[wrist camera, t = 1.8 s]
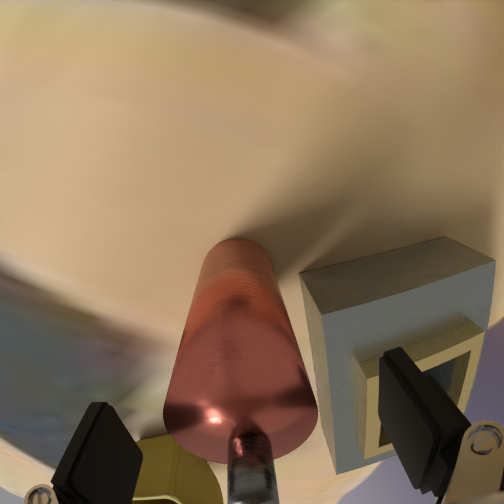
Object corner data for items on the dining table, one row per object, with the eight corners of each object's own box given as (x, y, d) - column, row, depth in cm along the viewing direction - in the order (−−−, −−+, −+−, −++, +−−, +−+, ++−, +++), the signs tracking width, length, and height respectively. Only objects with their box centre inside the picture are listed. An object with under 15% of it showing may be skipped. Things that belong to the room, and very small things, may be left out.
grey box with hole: (298, 273, 21) (329, 330, 14) (445, 236, 21) (510, 267, 13) (321, 426, 25) (340, 488, 18) (432, 387, 25) (467, 435, 18)
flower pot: (111, 429, 25) (87, 499, 16) (183, 412, 24) (170, 496, 16) (161, 475, 27) (151, 538, 19) (229, 462, 27) (230, 534, 18)
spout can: (194, 247, 20) (114, 443, 5) (264, 231, 20) (334, 416, 5) (212, 310, 21) (188, 524, 7) (277, 295, 21) (338, 505, 7)
